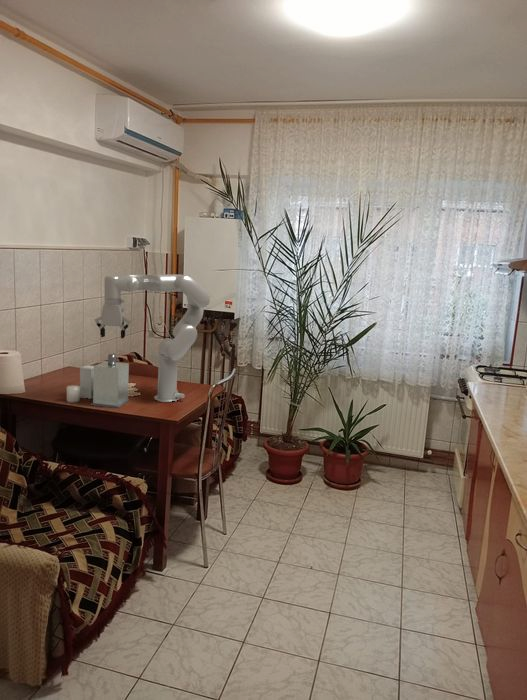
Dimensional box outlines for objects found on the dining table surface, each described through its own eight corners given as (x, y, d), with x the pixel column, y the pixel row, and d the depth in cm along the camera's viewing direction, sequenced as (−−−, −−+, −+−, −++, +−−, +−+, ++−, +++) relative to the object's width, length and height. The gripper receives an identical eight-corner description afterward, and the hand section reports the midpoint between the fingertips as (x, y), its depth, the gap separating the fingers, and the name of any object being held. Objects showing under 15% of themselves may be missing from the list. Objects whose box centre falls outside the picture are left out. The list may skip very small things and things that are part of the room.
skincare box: (90, 399, 267) (91, 368, 264) (78, 397, 268) (78, 367, 265) (99, 395, 275) (99, 365, 272) (87, 394, 276) (87, 364, 273)
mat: (128, 400, 269) (128, 399, 269) (118, 408, 255) (118, 406, 255) (101, 398, 270) (101, 396, 270) (90, 405, 256) (90, 404, 256)
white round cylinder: (81, 399, 265) (81, 385, 264) (76, 402, 260) (76, 388, 258) (69, 398, 266) (69, 384, 264) (64, 401, 260) (64, 387, 259)
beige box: (127, 399, 269) (129, 353, 265) (117, 406, 256) (118, 358, 252) (104, 396, 270) (105, 351, 266) (93, 403, 257) (94, 355, 253)
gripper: (133, 302, 257) (133, 337, 260) (98, 300, 259) (98, 335, 262) (127, 303, 250) (127, 339, 253) (91, 301, 251) (92, 337, 254)
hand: (112, 337), depth 257 cm, fingers open, 9 cm apart
